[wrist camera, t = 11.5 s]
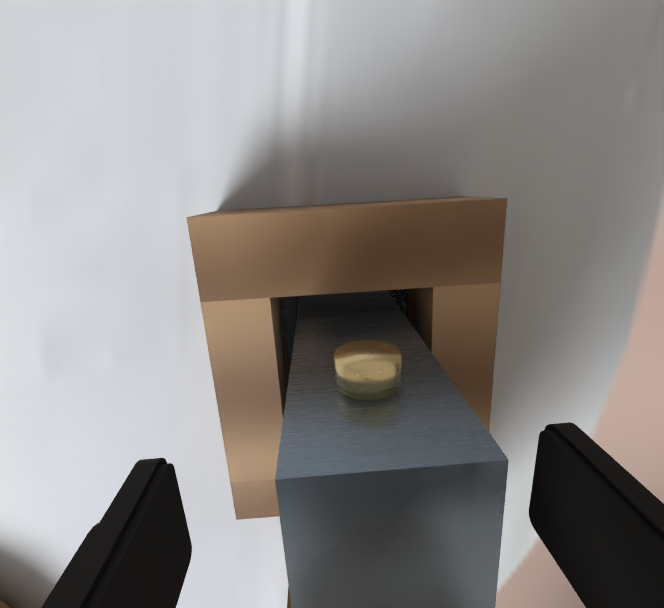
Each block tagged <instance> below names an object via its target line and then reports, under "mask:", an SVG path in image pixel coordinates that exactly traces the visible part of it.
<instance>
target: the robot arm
mask: <svg viewBox="0 0 664 608" xmlns="http://www.w3.org/2000/svg"><path fill="white" fill-rule="evenodd" d="M529 517H530V521H531V523H532V526H533V527H534V529H535V531H536V532H537V534H538V535H539V537H540V538H541V540H542V541H543V543H544V544H545V546H546V547H547V549H548V550H549V552H550V553H551V555H552V556H553V558H554V559H555V561H556V562H557V564H558V566H559V567H560V569H561V570H562V572H563V573H564V574H565V576H566V578H567V579H568V581H569V582H570V584H571V585H572V587H573V588H574V590H575V592H576V593H577V595H578V596H579V597H580V599H581V601H582V602H583V603H584V605H585V607H586V608H664V504H663V503H662V502H661V501H660V500H659V499H658V498H656V497H655V496H654V495H653V494H652V493H651V492H650V491H649V490H647V489H646V488H645V487H644V486H643V485H642V484H641V483H640V482H639V481H638V480H636V479H635V478H634V477H633V476H632V475H631V474H629V472H628V471H626V470H625V469H624V468H623V467H622V466H620V464H619V463H618V462H616V461H615V460H614V459H613V458H612V457H611V456H610V455H609V454H607V453H606V452H605V451H604V450H603V449H602V448H601V447H600V446H599V445H597V444H596V443H595V442H594V441H593V440H592V439H591V438H590V437H589V436H587V435H586V434H585V433H584V432H583V431H582V430H581V429H580V428H579V427H577V426H576V425H575V424H573V423H559V424H549V425H547V426H546V427H545V430H544V431H541V433H540V435H539V441H538V448H537V455H536V463H535V470H534V477H533V485H532V492H531V499H530V506H529ZM191 552H192V545H191V540H190V536H189V531H188V527H187V522H186V518H185V513H184V509H183V505H182V500H181V496H180V491H179V487H178V482H177V478H176V473H175V469H174V466H173V464H171V463H170V464H167V462H166V460H165V459H164V458H156V459H144V460H139V461H138V462H137V463H136V464H135V466H134V467H133V469H132V471H131V472H130V474H129V475H128V477H127V479H126V480H125V482H124V484H123V485H122V487H121V488H120V490H119V492H118V493H117V495H116V497H115V498H114V500H113V502H112V503H111V505H110V506H109V508H108V510H107V511H106V513H105V515H104V516H103V518H102V519H101V521H100V523H98V524H96V525H95V526H94V527H93V528H92V529H91V530H90V532H89V533H88V534H87V536H86V537H85V539H84V541H83V542H82V544H81V545H80V547H79V549H78V550H77V552H76V553H75V555H74V557H73V558H72V560H71V561H70V563H69V565H68V566H67V568H66V569H65V571H64V573H63V574H62V576H61V577H60V579H59V581H58V582H57V584H56V585H55V587H54V588H53V590H52V592H51V593H50V595H49V596H48V598H47V600H46V601H45V603H44V604H43V606H42V608H176V605H177V602H178V599H179V595H180V592H181V589H182V586H183V582H184V579H185V576H186V573H187V570H188V566H189V563H190V559H191Z"/></svg>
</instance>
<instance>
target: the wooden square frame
mask: <svg viewBox="0 0 664 608" xmlns="http://www.w3.org/2000/svg"><path fill="white" fill-rule="evenodd" d="M506 205H507V199H505V198H484V197H448V198H431V199H414V200H397V201H380V202H363V203H346V204H329V205H312V206H295V207H278V208H261V209H244V210H227V211H215V212H210V213H205V214H201V215H196V216H192V217H187V223H188V229H189V235H190V241H191V247H192V253H193V259H194V265H195V271H196V277H197V283H198V289H199V295H200V301H201V308H202V314H203V320H204V326H205V332H206V338H207V344H208V350H209V356H210V362H211V368H212V374H213V380H214V386H215V392H216V398H217V404H218V410H219V417H220V423H221V429H222V435H223V441H224V447H225V453H226V459H227V465H228V471H229V477H230V483H231V489H232V495H233V501H234V507H235V513H236V520H237V519H249V518H262V517H275V516H280V514H279V507H278V499H277V492H276V484H275V475H276V468H277V460H278V453H279V446H280V439H281V431H282V424H283V417H284V409H285V402H286V395H287V387H288V380H289V364H288V353H287V343H286V333H285V323H284V313H283V303H282V297H289V296H305V295H320V294H335V293H351V292H366V291H382V290H397V289H408V304H407V319H408V320H409V322H410V323H411V325H412V326H413V327H414V329H415V330H416V332H417V333H418V334H419V336H420V337H421V339H422V340H423V341H424V343H425V344H426V346H427V347H428V348H429V350H430V351H431V352H432V354H433V355H434V357H435V358H436V359H437V361H438V362H439V364H440V365H441V366H442V368H443V369H444V371H445V372H446V373H447V375H448V376H449V378H450V379H451V380H452V382H453V383H454V385H455V386H456V387H457V389H458V390H459V392H460V393H461V394H462V396H463V397H464V399H465V400H466V401H467V403H468V404H469V406H470V407H471V408H472V410H473V411H474V413H475V414H476V415H477V417H478V418H479V420H480V421H481V422H482V424H483V425H484V426H485V428H486V429H487V431H488V432H489V422H490V409H491V396H492V383H493V370H494V358H495V345H496V332H497V319H498V307H499V294H500V281H501V268H502V256H503V243H504V230H505V217H506ZM287 608H292V606H291V598H290V590H289V587H288V602H287Z"/></svg>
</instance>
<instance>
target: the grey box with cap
mask: <svg viewBox="0 0 664 608" xmlns="http://www.w3.org/2000/svg"><path fill="white" fill-rule="evenodd" d="M507 470H508V459H507V457H506V456H505V454H504V453H503V452H502V450H501V449H500V447H499V446H498V445H497V443H496V442H495V440H494V439H493V438H492V436H491V435H490V433H489V432H488V431H487V429H486V428H485V426H484V425H483V424H482V422H481V421H480V420H479V418H478V417H477V415H476V414H475V413H474V411H473V410H472V408H471V407H470V406H469V404H468V403H467V401H466V400H465V399H464V397H463V396H462V394H461V393H460V392H459V390H458V389H457V387H456V386H455V385H454V383H453V382H452V380H451V379H450V378H449V376H448V375H447V373H446V372H445V371H444V369H443V368H442V366H441V365H440V364H439V362H438V361H437V359H436V358H435V357H434V355H433V354H432V352H431V351H430V350H429V348H428V347H427V346H426V344H425V343H424V341H423V340H422V339H421V337H420V336H419V334H418V333H417V332H416V330H415V329H414V327H413V326H412V325H411V323H410V322H409V320H408V319H407V318H406V316H405V315H404V313H403V312H402V311H401V309H400V308H399V306H398V305H397V304H396V302H395V301H394V299H393V298H392V297H391V295H390V294H389V292H388V291H387V290H382V291H366V292H351V293H335V294H320V295H305V296H300V300H299V307H298V314H297V322H296V329H295V336H294V344H293V351H292V358H291V366H290V373H289V380H288V387H287V395H286V402H285V409H284V417H283V424H282V431H281V439H280V446H279V453H278V460H277V468H276V475H275V484H276V492H277V499H278V507H279V514H280V522H281V530H282V537H283V545H284V552H285V560H286V568H287V575H288V583H289V590H290V598H291V606H292V608H495V602H496V591H497V580H498V569H499V558H500V547H501V536H502V525H503V514H504V503H505V492H506V481H507Z"/></svg>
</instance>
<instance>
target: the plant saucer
mask: <svg viewBox="0 0 664 608" xmlns="http://www.w3.org/2000/svg"><path fill="white" fill-rule="evenodd" d="M0 608H11V607H10V606H9V605H7V604H6V603H5V602H3V601H2V600H0Z"/></svg>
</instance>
